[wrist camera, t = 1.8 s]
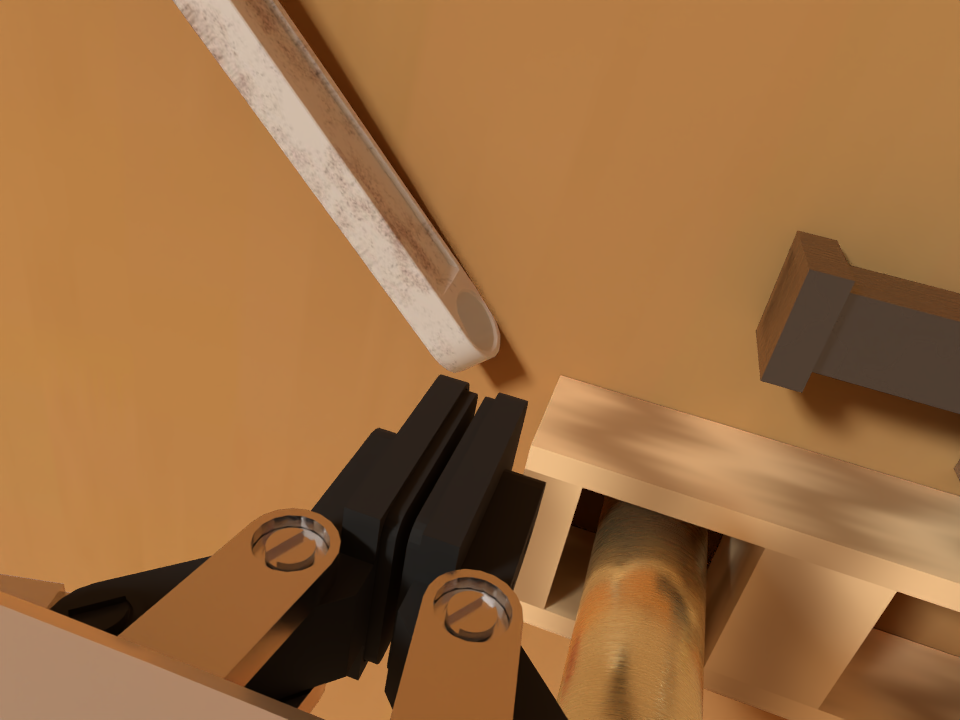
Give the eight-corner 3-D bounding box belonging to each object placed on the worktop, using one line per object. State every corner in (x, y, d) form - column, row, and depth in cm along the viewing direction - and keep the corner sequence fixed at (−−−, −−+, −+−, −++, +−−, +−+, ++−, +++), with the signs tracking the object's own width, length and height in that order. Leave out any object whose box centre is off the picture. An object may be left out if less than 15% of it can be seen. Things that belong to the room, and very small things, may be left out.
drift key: (1150, 319, 21) (1225, 377, 18) (1077, 420, 22) (1133, 489, 19) (797, 230, 22) (809, 269, 19) (755, 330, 24) (760, 380, 21)
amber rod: (723, 471, 28) (722, 754, 17) (690, 545, 30) (673, 838, 19) (622, 439, 28) (565, 694, 18) (596, 514, 30) (531, 781, 20)
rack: (1125, 546, 24) (1210, 665, 20) (999, 691, 28) (1048, 815, 24) (560, 375, 28) (531, 445, 24) (520, 526, 32) (488, 609, 28)
